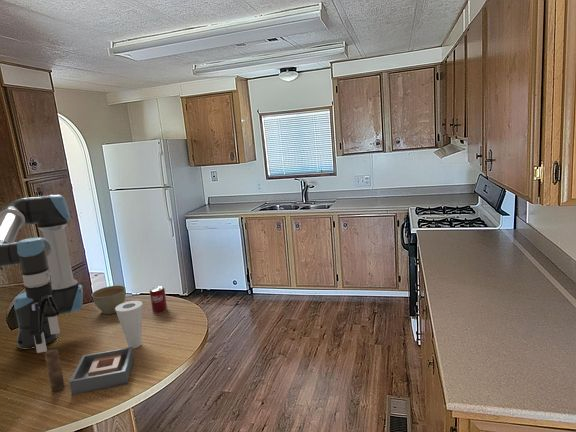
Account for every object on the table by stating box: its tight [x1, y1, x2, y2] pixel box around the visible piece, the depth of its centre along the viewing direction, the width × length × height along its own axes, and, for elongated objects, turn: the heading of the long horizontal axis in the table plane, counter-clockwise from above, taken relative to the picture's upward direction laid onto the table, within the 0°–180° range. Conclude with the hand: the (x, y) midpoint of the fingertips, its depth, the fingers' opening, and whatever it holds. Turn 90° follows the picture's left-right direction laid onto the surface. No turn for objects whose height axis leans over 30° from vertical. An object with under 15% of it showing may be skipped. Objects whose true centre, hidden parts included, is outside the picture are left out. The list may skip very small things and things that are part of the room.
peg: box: [44, 348, 65, 393], centre depth 138 cm, size 4×4×14 cm
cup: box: [115, 300, 143, 349], centre depth 165 cm, size 11×11×18 cm
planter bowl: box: [91, 285, 127, 315], centre depth 205 cm, size 16×16×11 cm
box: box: [69, 346, 135, 395], centre depth 145 cm, size 18×18×5 cm
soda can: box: [149, 286, 168, 315], centre depth 200 cm, size 7×7×12 cm
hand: (49, 342), depth 136 cm, fingers open, 13 cm apart
